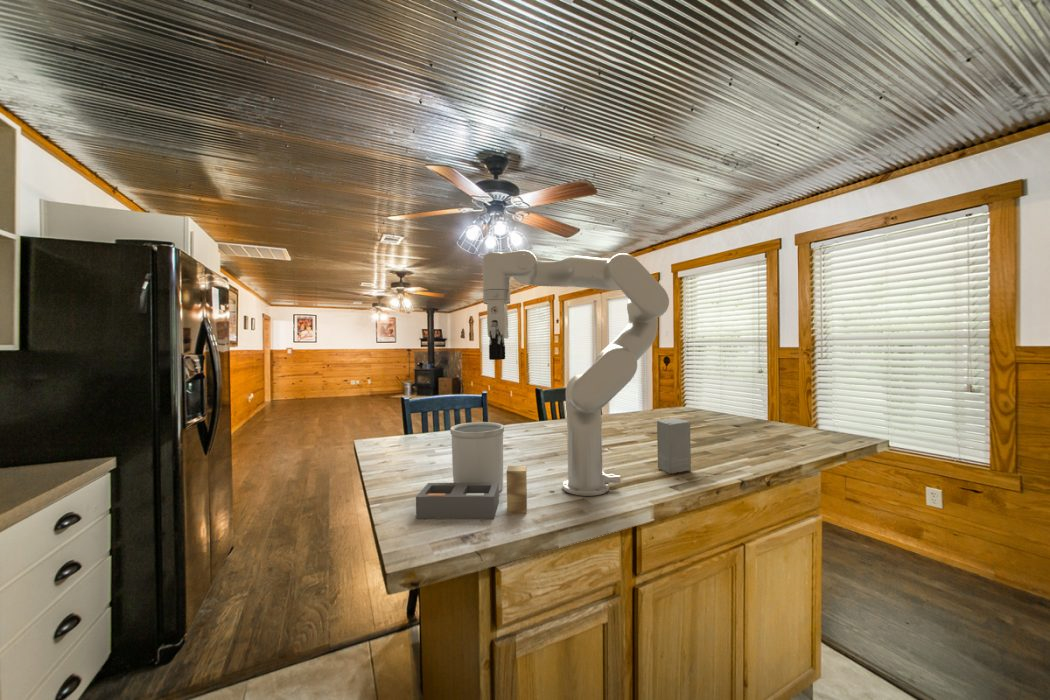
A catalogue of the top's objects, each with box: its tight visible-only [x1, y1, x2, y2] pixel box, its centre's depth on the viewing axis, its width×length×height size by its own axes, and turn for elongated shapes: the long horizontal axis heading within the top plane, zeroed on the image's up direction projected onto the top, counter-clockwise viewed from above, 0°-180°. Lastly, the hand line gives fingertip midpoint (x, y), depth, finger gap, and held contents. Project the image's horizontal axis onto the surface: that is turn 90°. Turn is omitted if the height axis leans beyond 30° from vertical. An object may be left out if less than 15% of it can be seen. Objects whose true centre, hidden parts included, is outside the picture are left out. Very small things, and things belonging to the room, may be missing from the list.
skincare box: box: [656, 418, 692, 474], centre depth 125 cm, size 8×7×16 cm
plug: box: [506, 465, 528, 515], centre depth 95 cm, size 4×4×10 cm
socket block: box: [415, 482, 500, 520], centre depth 95 cm, size 18×10×5 cm, turn 88°
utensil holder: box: [449, 421, 505, 493], centre depth 110 cm, size 15×15×18 cm
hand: (497, 359), depth 110 cm, fingers open, 9 cm apart
